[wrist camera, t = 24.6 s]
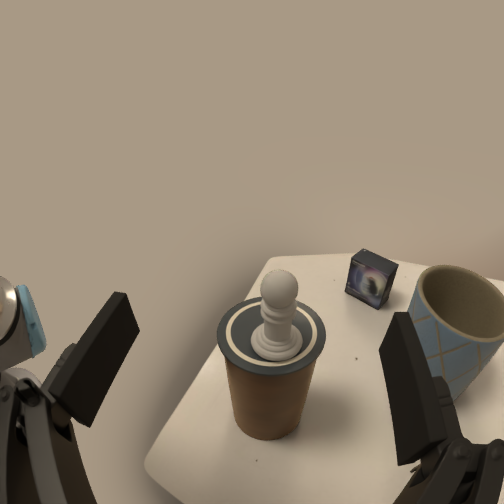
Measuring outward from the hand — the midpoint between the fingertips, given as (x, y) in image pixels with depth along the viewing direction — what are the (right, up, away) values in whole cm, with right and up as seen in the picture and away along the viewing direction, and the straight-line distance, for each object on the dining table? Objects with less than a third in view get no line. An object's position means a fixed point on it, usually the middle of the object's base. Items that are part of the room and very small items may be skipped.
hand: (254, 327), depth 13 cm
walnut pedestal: (+2, -23, +27) cm, 35 cm away
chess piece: (+2, -6, +15) cm, 17 cm away
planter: (+33, -21, +29) cm, 49 cm away
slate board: (+2, -5, +17) cm, 18 cm away
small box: (+29, -8, +52) cm, 60 cm away
